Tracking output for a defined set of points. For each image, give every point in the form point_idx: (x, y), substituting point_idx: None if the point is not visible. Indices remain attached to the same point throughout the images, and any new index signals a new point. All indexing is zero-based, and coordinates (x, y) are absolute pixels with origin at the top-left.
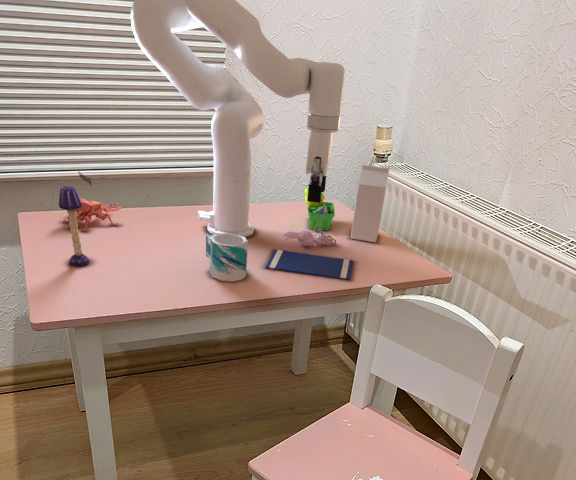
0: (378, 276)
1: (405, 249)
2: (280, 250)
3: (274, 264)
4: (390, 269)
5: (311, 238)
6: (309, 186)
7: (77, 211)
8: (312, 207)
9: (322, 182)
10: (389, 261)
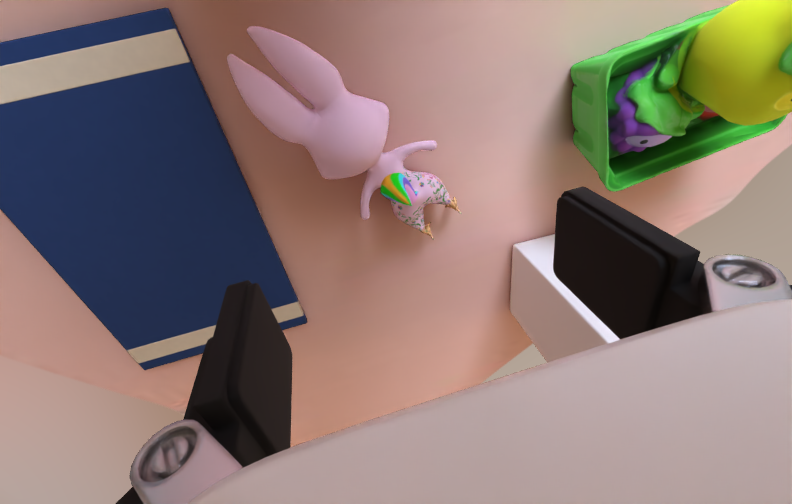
0: None
1: (492, 373)
2: (175, 48)
3: None
4: (324, 398)
5: (334, 175)
6: (202, 395)
7: None
8: (682, 61)
9: (602, 303)
10: (381, 379)
